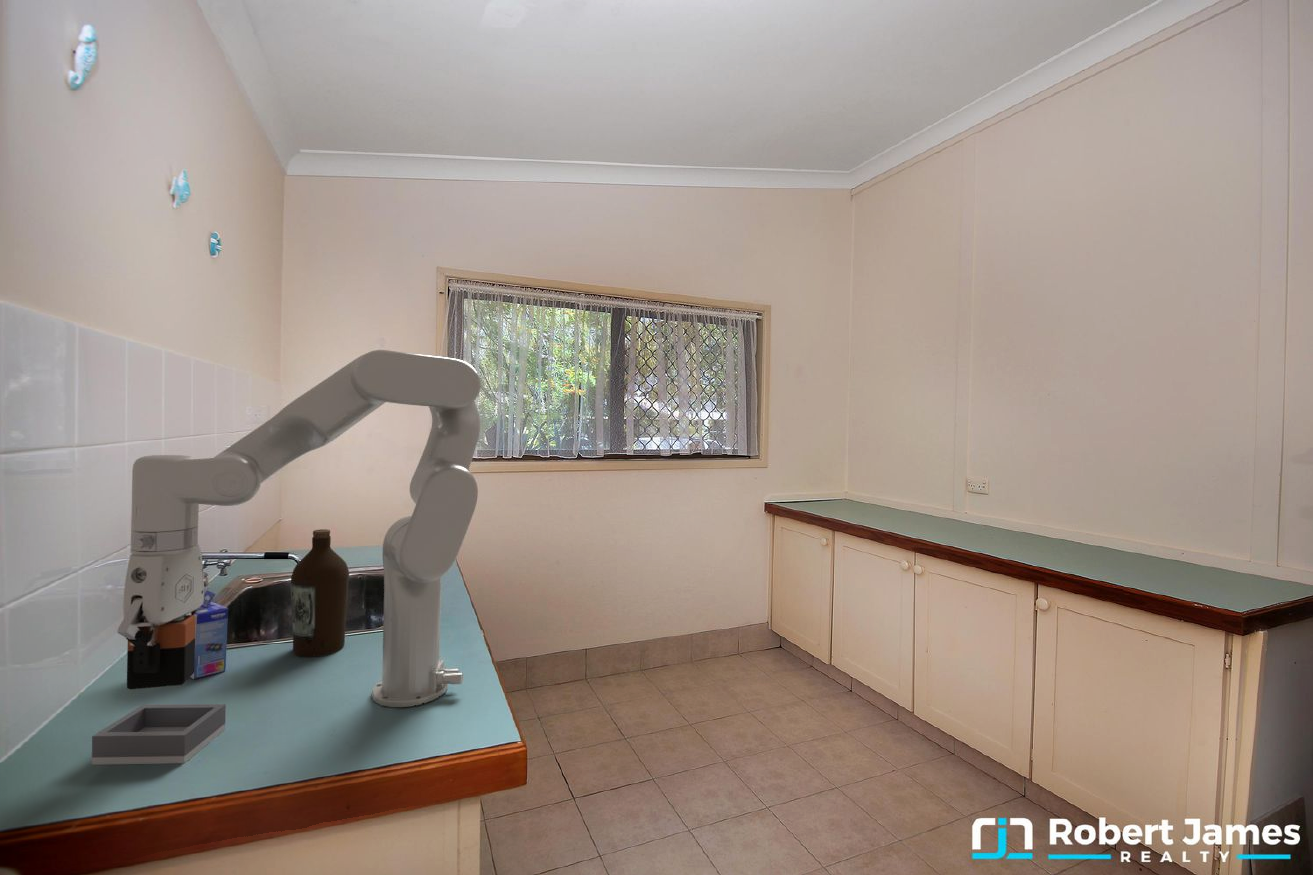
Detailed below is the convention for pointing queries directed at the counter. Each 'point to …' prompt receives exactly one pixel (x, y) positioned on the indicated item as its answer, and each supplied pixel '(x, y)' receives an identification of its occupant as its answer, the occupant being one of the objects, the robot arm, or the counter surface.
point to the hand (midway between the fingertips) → (162, 662)
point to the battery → (168, 655)
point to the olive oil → (319, 599)
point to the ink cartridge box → (210, 638)
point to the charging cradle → (159, 734)
